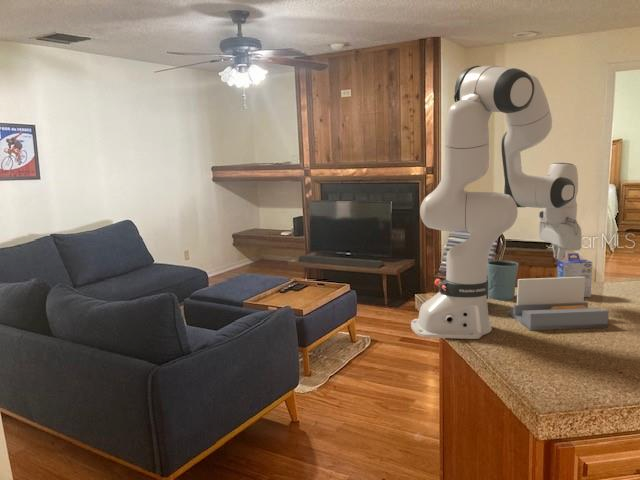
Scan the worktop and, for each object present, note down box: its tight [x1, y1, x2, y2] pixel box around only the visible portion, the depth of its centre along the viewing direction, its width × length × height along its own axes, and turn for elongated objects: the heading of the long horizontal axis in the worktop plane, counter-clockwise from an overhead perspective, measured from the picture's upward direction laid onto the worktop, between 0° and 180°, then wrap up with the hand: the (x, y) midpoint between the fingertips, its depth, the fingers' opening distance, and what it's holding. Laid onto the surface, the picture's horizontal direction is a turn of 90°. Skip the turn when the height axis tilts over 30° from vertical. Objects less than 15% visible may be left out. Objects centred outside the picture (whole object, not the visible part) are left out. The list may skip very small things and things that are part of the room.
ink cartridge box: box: [556, 252, 593, 298], centre depth 173 cm, size 10×6×14 cm, turn 89°
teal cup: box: [487, 259, 520, 301], centre depth 175 cm, size 10×10×12 cm
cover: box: [516, 277, 585, 305], centre depth 152 cm, size 20×8×1 cm
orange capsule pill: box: [550, 305, 587, 310], centre depth 150 cm, size 11×3×3 cm
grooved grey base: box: [507, 301, 610, 331], centre depth 150 cm, size 22×16×5 cm
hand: (558, 259), depth 160 cm, fingers closed
